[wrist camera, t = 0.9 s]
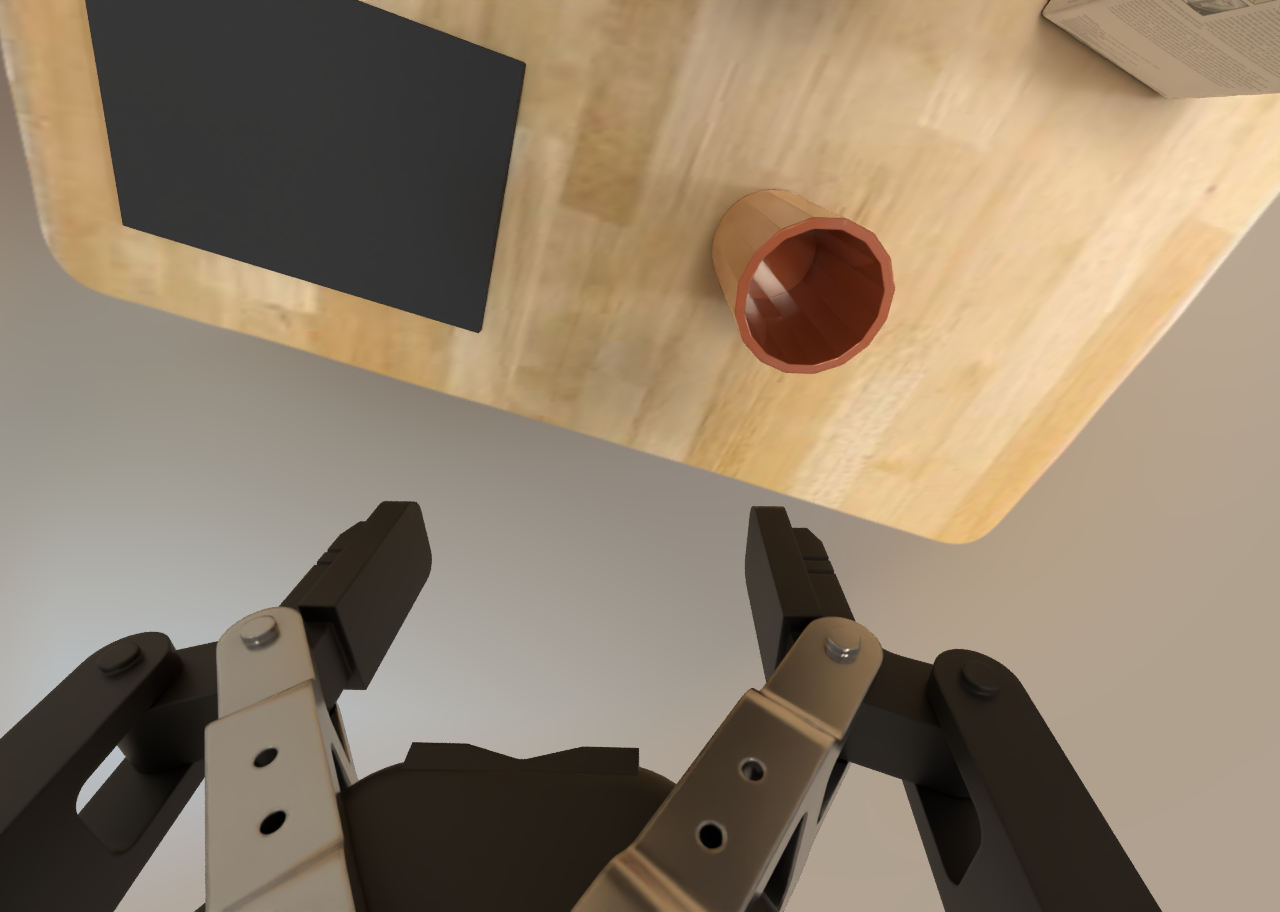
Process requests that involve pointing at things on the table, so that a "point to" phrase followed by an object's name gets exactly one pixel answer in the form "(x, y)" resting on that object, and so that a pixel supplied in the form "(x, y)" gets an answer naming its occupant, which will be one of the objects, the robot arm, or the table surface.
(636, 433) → the table surface
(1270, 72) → the ink box
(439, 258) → the mat
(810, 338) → the cup
